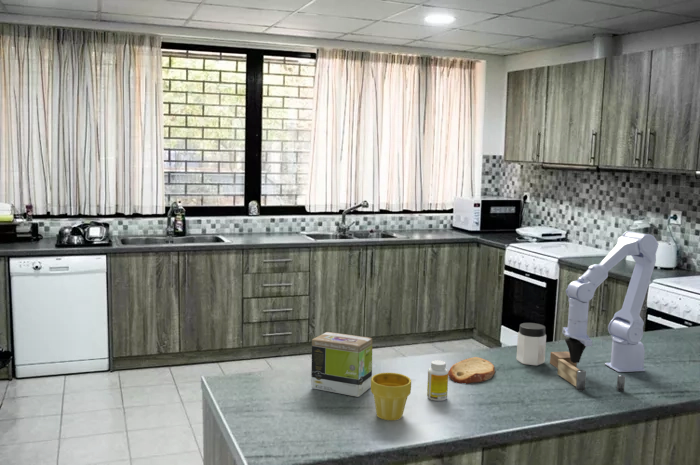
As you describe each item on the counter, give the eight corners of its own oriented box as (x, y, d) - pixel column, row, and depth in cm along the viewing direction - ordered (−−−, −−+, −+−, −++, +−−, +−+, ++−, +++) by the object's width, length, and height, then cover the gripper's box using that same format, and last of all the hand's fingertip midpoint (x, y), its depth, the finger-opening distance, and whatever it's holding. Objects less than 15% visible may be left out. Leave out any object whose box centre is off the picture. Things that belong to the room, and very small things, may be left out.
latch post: (621, 388, 193) (622, 374, 192) (625, 391, 191) (626, 376, 190) (615, 389, 192) (616, 374, 192) (619, 391, 190) (620, 377, 190)
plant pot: (416, 421, 166) (417, 384, 165) (377, 425, 163) (378, 387, 162) (401, 406, 176) (402, 370, 175) (364, 409, 173) (365, 373, 172)
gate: (580, 386, 193) (581, 370, 192) (575, 386, 193) (576, 371, 192) (561, 373, 204) (562, 358, 203) (556, 374, 203) (557, 359, 203)
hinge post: (582, 387, 193) (583, 369, 192) (586, 390, 190) (587, 372, 190) (574, 388, 192) (575, 370, 192) (578, 391, 190) (580, 372, 189)
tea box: (372, 386, 190) (373, 337, 188) (358, 398, 181) (359, 346, 179) (325, 378, 196) (326, 330, 194) (309, 389, 187) (310, 338, 185)
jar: (534, 367, 210) (536, 331, 209) (512, 361, 216) (514, 325, 214) (548, 361, 216) (551, 326, 215) (526, 355, 222) (528, 321, 221)
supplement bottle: (451, 400, 181) (452, 364, 180) (434, 403, 178) (435, 366, 177) (439, 393, 186) (441, 358, 185) (423, 396, 183) (424, 360, 182)
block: (566, 363, 216) (567, 351, 215) (576, 369, 210) (577, 357, 210) (549, 363, 215) (550, 352, 214) (559, 370, 209) (559, 357, 208)
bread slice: (485, 363, 215) (485, 352, 214) (510, 382, 197) (511, 370, 197) (433, 366, 210) (433, 354, 210) (455, 385, 193) (455, 373, 193)
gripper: (554, 314, 211) (552, 355, 212) (578, 326, 196) (575, 370, 198) (575, 313, 212) (572, 354, 214) (599, 325, 198) (596, 369, 199)
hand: (575, 362), depth 206 cm, fingers closed
